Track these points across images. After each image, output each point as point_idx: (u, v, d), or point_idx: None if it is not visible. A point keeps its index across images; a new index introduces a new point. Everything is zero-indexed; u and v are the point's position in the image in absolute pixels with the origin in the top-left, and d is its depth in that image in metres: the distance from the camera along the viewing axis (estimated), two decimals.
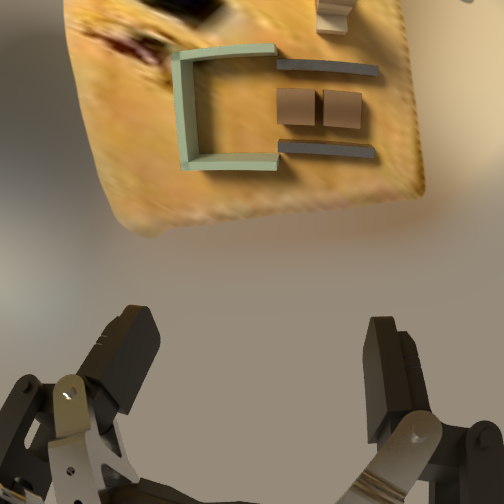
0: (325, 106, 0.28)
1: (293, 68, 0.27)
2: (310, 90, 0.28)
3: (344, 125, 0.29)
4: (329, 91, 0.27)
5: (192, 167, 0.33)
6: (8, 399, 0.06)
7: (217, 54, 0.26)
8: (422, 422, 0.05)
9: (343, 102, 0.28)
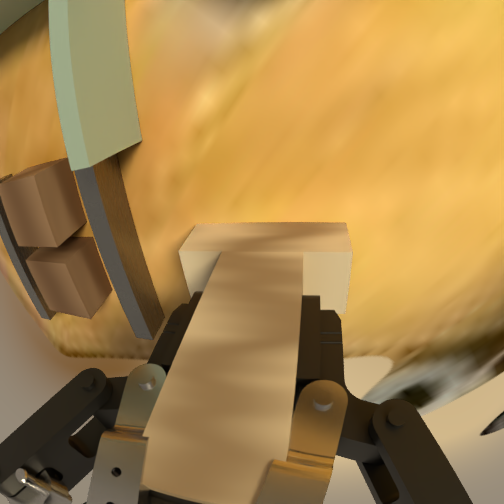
0: (45, 263, 0.14)
1: (83, 197, 0.12)
2: (53, 239, 0.13)
3: (41, 289, 0.16)
4: (67, 271, 0.14)
5: None
6: (65, 388, 0.07)
7: (52, 26, 0.06)
8: (325, 391, 0.07)
9: (64, 291, 0.15)
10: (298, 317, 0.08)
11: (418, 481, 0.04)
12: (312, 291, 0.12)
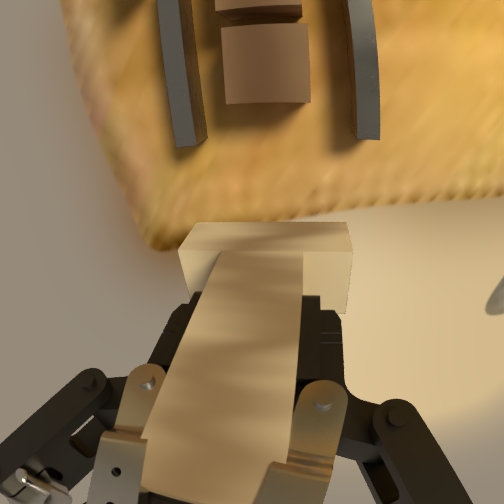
0: (267, 26, 0.11)
1: None
2: None
3: (228, 69, 0.12)
4: (305, 33, 0.11)
5: None
6: (65, 388, 0.07)
7: None
8: (326, 391, 0.07)
9: (281, 62, 0.12)
10: (298, 317, 0.08)
11: (418, 481, 0.04)
12: (312, 291, 0.12)
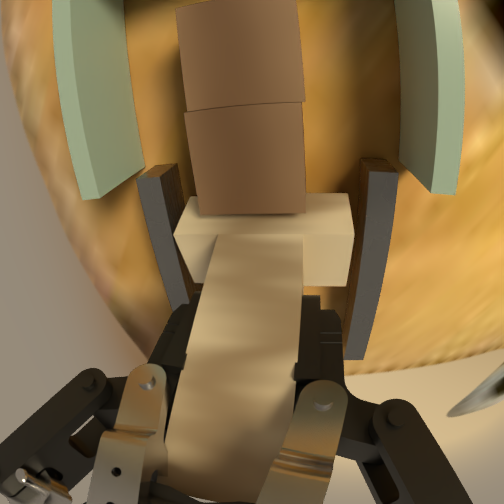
0: (245, 109, 0.09)
1: (369, 214, 0.11)
2: (300, 88, 0.08)
3: (198, 171, 0.11)
4: (298, 117, 0.09)
5: None
6: (65, 388, 0.07)
7: (435, 18, 0.05)
8: (326, 391, 0.07)
9: (267, 161, 0.10)
10: (298, 319, 0.09)
11: (418, 481, 0.04)
12: (312, 267, 0.12)
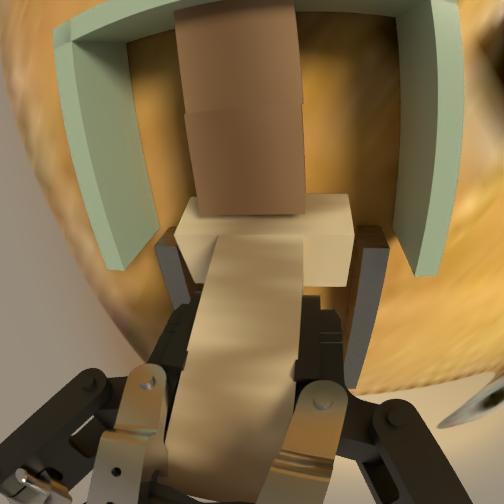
0: (245, 110, 0.09)
1: (361, 281, 0.13)
2: (298, 90, 0.09)
3: (198, 172, 0.11)
4: (297, 119, 0.09)
5: (60, 57, 0.08)
6: (65, 388, 0.07)
7: (439, 119, 0.07)
8: (326, 391, 0.07)
9: (267, 163, 0.10)
10: (298, 319, 0.09)
11: (418, 480, 0.04)
12: (312, 268, 0.12)
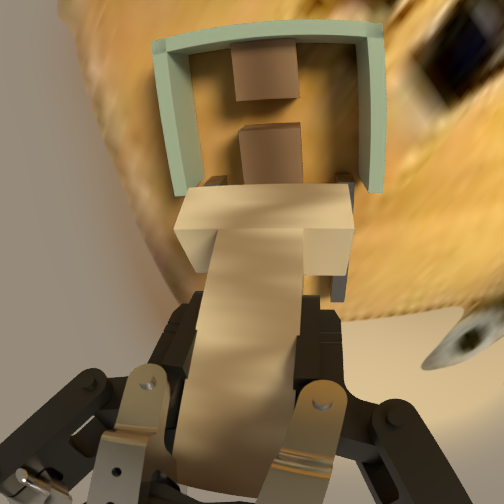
0: (271, 131, 0.18)
1: None
2: (297, 91, 0.16)
3: (244, 163, 0.20)
4: (298, 136, 0.18)
5: (158, 60, 0.15)
6: (65, 388, 0.07)
7: (371, 102, 0.15)
8: (325, 391, 0.07)
9: (282, 158, 0.19)
10: (298, 318, 0.09)
11: (418, 481, 0.04)
12: (312, 259, 0.12)
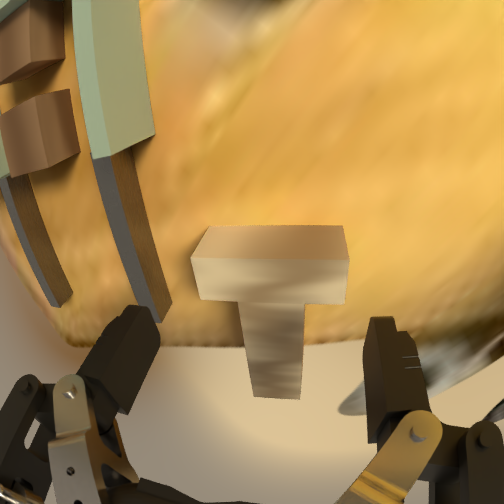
0: (16, 108, 0.11)
1: (100, 185, 0.13)
2: (28, 55, 0.09)
3: (6, 150, 0.12)
4: (34, 106, 0.11)
5: None
6: (8, 399, 0.06)
7: (76, 27, 0.08)
8: (422, 422, 0.05)
9: (27, 137, 0.12)
10: (301, 351, 0.16)
11: None
12: None
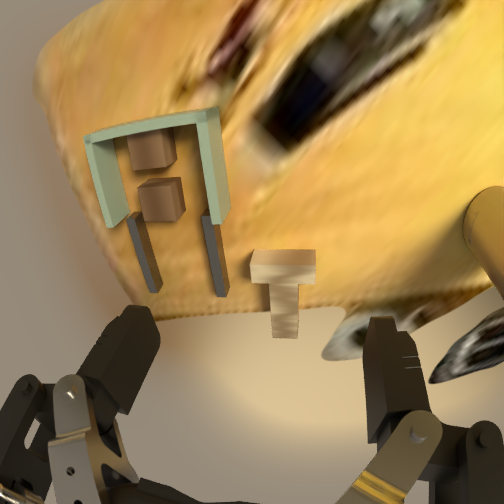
0: (154, 187, 0.30)
1: (204, 231, 0.32)
2: (164, 162, 0.28)
3: (142, 206, 0.31)
4: (170, 190, 0.29)
5: (87, 148, 0.27)
6: (8, 399, 0.06)
7: (204, 166, 0.26)
8: (422, 422, 0.05)
9: (162, 204, 0.30)
10: (297, 307, 0.35)
11: None
12: None
